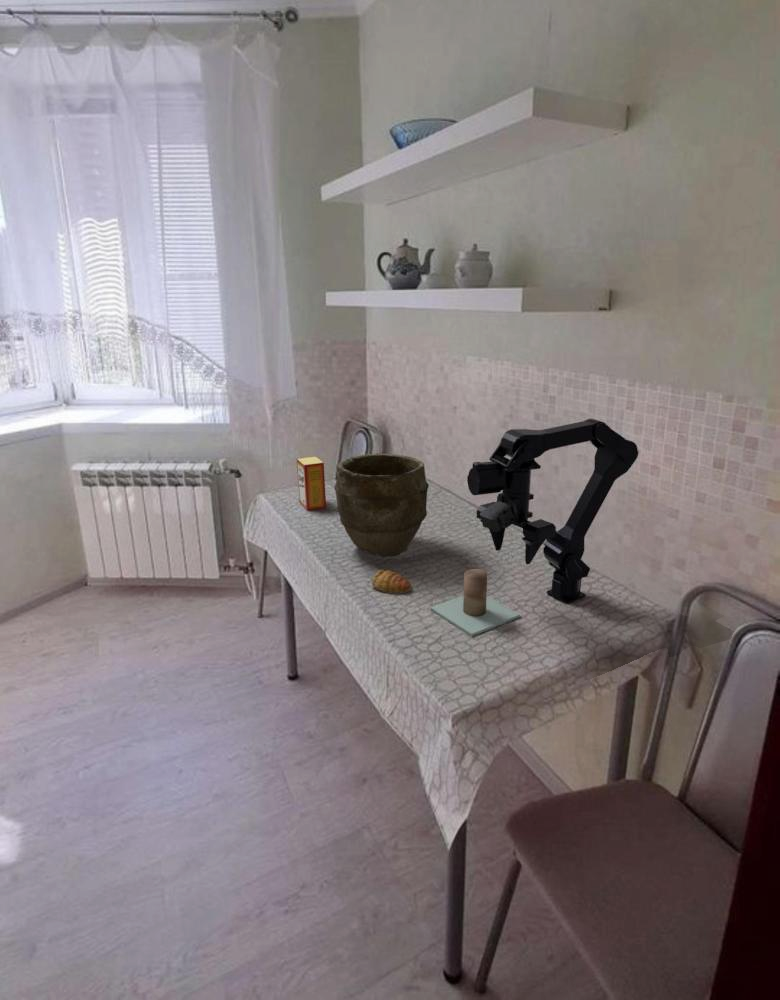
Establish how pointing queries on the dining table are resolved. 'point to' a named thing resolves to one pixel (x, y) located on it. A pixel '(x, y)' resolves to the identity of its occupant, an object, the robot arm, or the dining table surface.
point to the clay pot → (381, 501)
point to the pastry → (391, 582)
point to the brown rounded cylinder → (475, 592)
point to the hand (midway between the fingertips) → (512, 556)
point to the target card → (474, 624)
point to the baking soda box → (311, 483)
